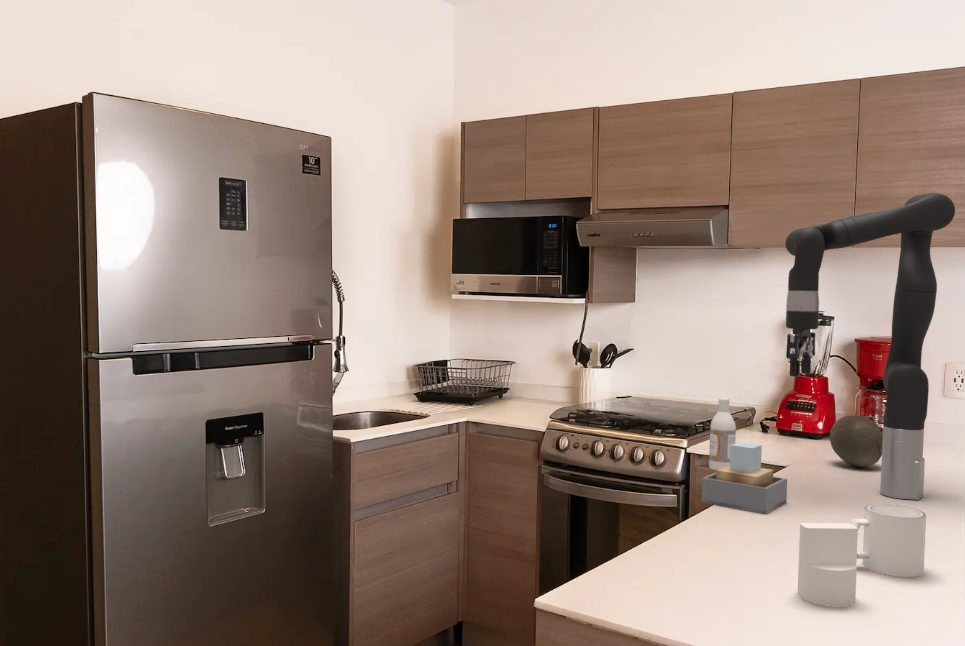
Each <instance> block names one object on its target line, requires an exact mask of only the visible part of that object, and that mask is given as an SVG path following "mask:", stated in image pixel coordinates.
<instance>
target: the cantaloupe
mask: <svg viewBox="0 0 965 646" xmlns="http://www.w3.org/2000/svg"><path fill="white" fill-rule="evenodd" d="M881 430H882V429H881V428H880V427H879V425H878V424H877V423H876V422H875V420H873V419H871V418H870V417H867V416H864V415H845V416H843V417H841V418H839V419H838V420H837V421H835V422H834V423H833V425H832V427H831V429H830V431H829V442H830V446H831V449H832V450H833V451H834V453H835V454H836V455H837V457H838V458H840V459H841V460H842V461H843V462H845V463H846V464H848V465H850V466H852V467H856V468H861V469H862V468H863V469H865V468H867V467H870V466H872V465H875V464H877V463H878V462H879V461H880V459H882V439H883V431H881Z"/></svg>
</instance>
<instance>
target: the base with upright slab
mask: <svg viewBox="0 0 965 646" xmlns="http://www.w3.org/2000/svg"><path fill="white" fill-rule="evenodd" d="M858 532H859V530H858V528H857V527H856V526H854V525H852V524H851V523H842V522H840V523H838V522H837V523H835V522H832V523H831V522H829V523H828V522H825V523H823V522H817V523H816V522H800V523H799V545H798V546H799V547H798V550H799V551H798V566H797V567H798V569H797V571H798V573H797V595H798V596H800V597H799V598H801V597H802V598H803V599H802V598H801V599H802V600H804V599H805V601H806V600H807V602H808V601H810V602H809V603H811V602H813V604H814V603H816V604H815V605H818V604H821V605H820V606H823V605H828V606H827V607H830V606H846V607H848V606H847V605H851V604H853V605H854V604H855V603H856V594H857V593H856V592H857V569H858V566H857V561H858V559H857V552H858V539H859V538H858V536H859V534H858ZM851 606H852V605H851Z"/></svg>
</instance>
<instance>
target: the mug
mask: <svg viewBox="0 0 965 646" xmlns="http://www.w3.org/2000/svg"><path fill="white" fill-rule="evenodd" d="M850 524H852V525H854V526H856V527H857V528H858V531H859V530H860V528H861V526H863V545H862V547H863V548H862V551H857V560H858V559H862V565H864V566H865V569H867V568H868V569H867V570H869V569H870V571H871V570H872V571H871V572H874V571H875V573H877V572H878V573H877V574H880V573H881V574H880V575H884V574H886V575H885V576H889V575H891V576H890V577H897V578H898V577H899V578H916V577H921V576H922V575H923V574H924V570H925V568H924V567H925V553H926V552H925V549H926V547H925V546H926V527H927V525H926V524H927V514H926V513H925V512H924V511H922V510H920V509H917V508H914V507H909V506H907V505H906V506H905V505H899V504H891V503H873V504H867V505H865V507H864V518H852V520H851V522H850ZM864 566H863V567H864Z"/></svg>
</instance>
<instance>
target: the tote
mask: <svg viewBox="0 0 965 646" xmlns="http://www.w3.org/2000/svg"><path fill="white" fill-rule="evenodd" d="M716 473H717V471H716V472H713V473H710V474H708V475H707V476H704V477H702V478H701V496H700V497H701V498H700V499H701V501H700V502H701V503H704V504H710V505H716V506H720V507H726V508H732V509H737V510H742V511H747V512H751V513H758V514H764V515H767V514H769V513H770V512H772V511H774V510H776V509H778V508H779V507H782V506H783V505H785V504H787V502H788V501H787V497H788V496H787V495H788V478H787V477H786V478H785V477H777V476H773V484H771V485H769V486H767V487H765V488H764V487H758V486H752V485H746V484H740V483H734V482H728V481H722V480H716Z"/></svg>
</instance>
